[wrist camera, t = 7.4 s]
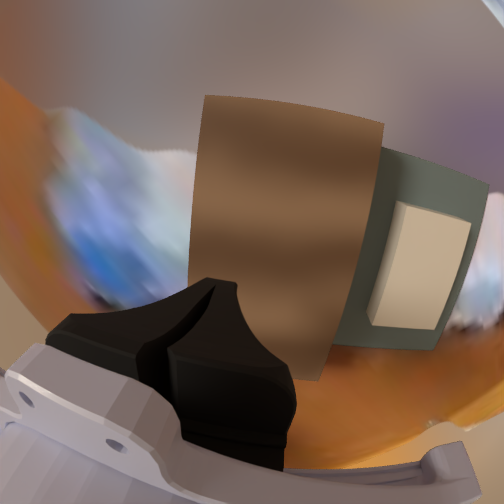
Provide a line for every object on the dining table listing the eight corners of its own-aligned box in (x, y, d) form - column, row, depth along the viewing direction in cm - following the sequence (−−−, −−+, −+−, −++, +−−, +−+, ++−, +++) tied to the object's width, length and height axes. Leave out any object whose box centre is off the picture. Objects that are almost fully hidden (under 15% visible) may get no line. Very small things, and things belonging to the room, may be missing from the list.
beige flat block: (371, 325, 19) (365, 311, 21) (434, 329, 19) (425, 317, 21) (406, 205, 16) (395, 200, 18) (471, 223, 16) (457, 217, 18)
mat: (431, 348, 22) (432, 350, 22) (317, 340, 23) (317, 342, 23) (487, 184, 17) (489, 184, 16) (362, 142, 17) (364, 142, 17)
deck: (314, 349, 23) (318, 381, 19) (199, 331, 24) (186, 360, 20) (364, 128, 17) (384, 123, 13) (220, 106, 18) (204, 95, 14)
